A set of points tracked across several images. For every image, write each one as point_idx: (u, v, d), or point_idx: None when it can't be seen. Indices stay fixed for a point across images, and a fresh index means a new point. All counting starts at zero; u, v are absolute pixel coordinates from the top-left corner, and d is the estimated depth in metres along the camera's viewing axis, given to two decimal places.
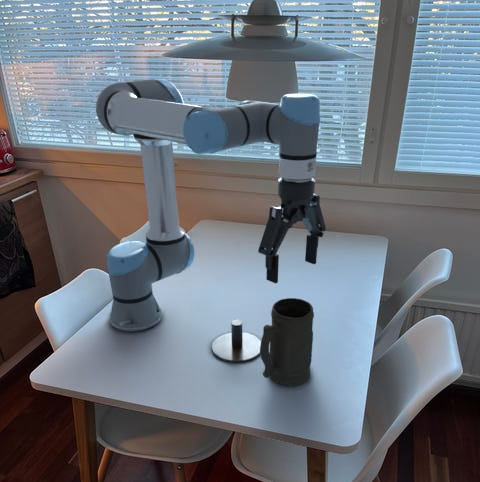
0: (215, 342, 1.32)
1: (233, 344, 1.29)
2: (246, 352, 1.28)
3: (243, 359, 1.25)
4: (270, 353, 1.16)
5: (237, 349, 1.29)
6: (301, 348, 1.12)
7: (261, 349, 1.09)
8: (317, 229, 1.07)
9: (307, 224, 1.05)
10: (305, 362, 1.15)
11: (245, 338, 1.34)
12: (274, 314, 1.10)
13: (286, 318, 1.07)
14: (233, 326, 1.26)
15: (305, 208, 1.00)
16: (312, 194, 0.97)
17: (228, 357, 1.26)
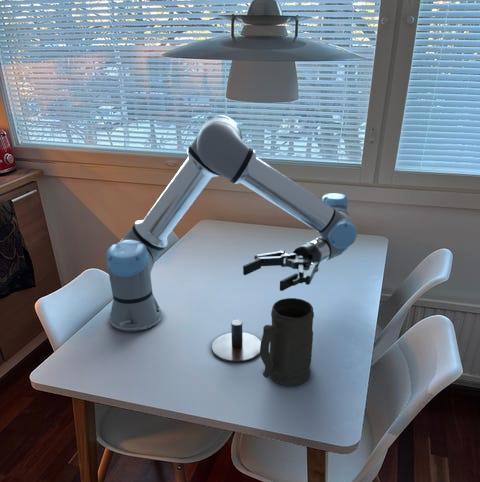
0: (215, 342, 1.32)
1: (233, 344, 1.29)
2: (246, 352, 1.28)
3: (243, 359, 1.25)
4: (270, 353, 1.16)
5: (237, 349, 1.29)
6: (301, 348, 1.12)
7: (261, 349, 1.09)
8: (302, 271, 1.28)
9: (298, 270, 1.31)
10: (305, 362, 1.15)
11: (245, 338, 1.34)
12: (274, 314, 1.10)
13: (286, 318, 1.07)
14: (233, 326, 1.26)
15: (300, 256, 1.35)
16: (307, 247, 1.36)
17: (228, 357, 1.26)
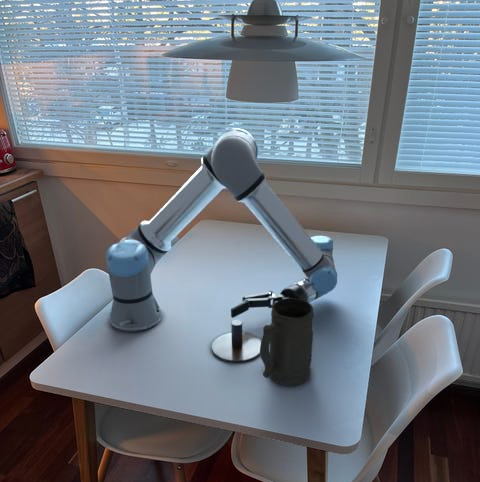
0: (215, 342, 1.32)
1: (233, 344, 1.29)
2: (246, 352, 1.28)
3: (243, 359, 1.25)
4: (270, 353, 1.16)
5: (237, 349, 1.29)
6: (301, 348, 1.12)
7: (261, 349, 1.09)
8: None
9: None
10: (305, 362, 1.15)
11: (245, 338, 1.34)
12: (274, 314, 1.10)
13: (286, 318, 1.07)
14: (233, 326, 1.26)
15: None
16: (294, 289, 1.39)
17: (228, 357, 1.26)
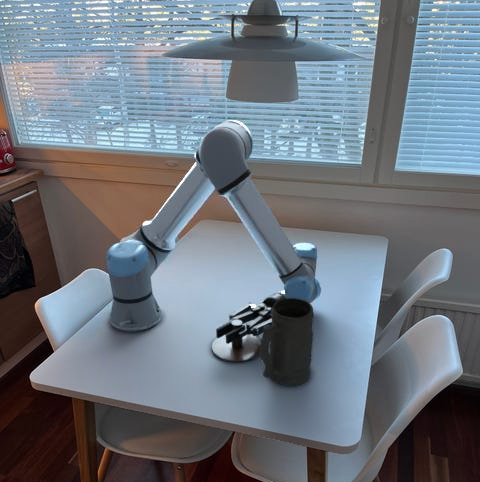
0: (215, 342, 1.32)
1: (233, 344, 1.29)
2: (246, 352, 1.28)
3: (243, 359, 1.25)
4: (270, 353, 1.16)
5: (237, 349, 1.29)
6: (301, 348, 1.12)
7: (261, 349, 1.09)
8: (252, 323, 1.27)
9: None
10: (305, 362, 1.15)
11: (245, 338, 1.34)
12: (274, 314, 1.10)
13: (286, 318, 1.07)
14: (233, 326, 1.26)
15: (269, 308, 1.33)
16: (276, 298, 1.34)
17: (228, 357, 1.26)
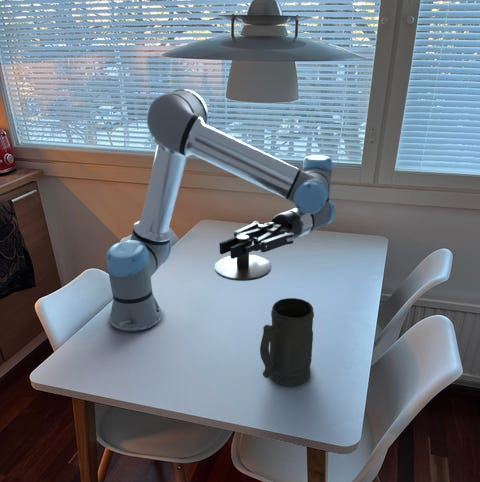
0: (218, 263, 1.17)
1: (238, 263, 1.14)
2: (253, 271, 1.13)
3: (250, 277, 1.10)
4: (270, 353, 1.16)
5: (243, 269, 1.14)
6: (301, 348, 1.12)
7: (261, 349, 1.09)
8: (260, 238, 1.12)
9: None
10: (305, 362, 1.15)
11: (252, 259, 1.19)
12: (274, 314, 1.10)
13: (286, 318, 1.07)
14: (239, 240, 1.11)
15: (279, 225, 1.18)
16: (287, 215, 1.19)
17: (233, 275, 1.11)
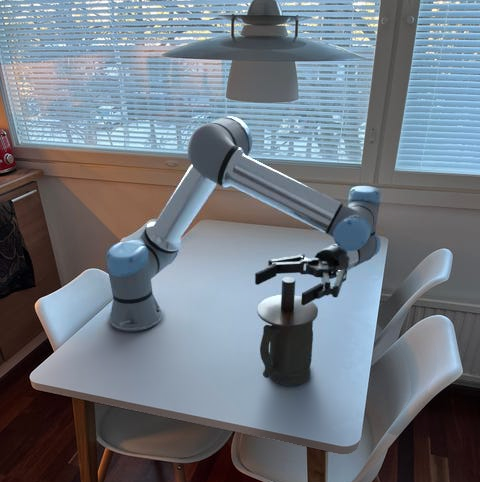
0: (260, 305, 1.10)
1: (283, 307, 1.07)
2: (299, 316, 1.06)
3: (297, 323, 1.04)
4: (270, 353, 1.16)
5: (288, 313, 1.07)
6: (301, 348, 1.12)
7: (261, 349, 1.09)
8: (328, 281, 1.04)
9: (323, 279, 1.07)
10: (305, 362, 1.15)
11: (295, 301, 1.12)
12: None
13: None
14: (285, 284, 1.04)
15: (324, 261, 1.11)
16: (333, 250, 1.12)
17: (279, 321, 1.04)
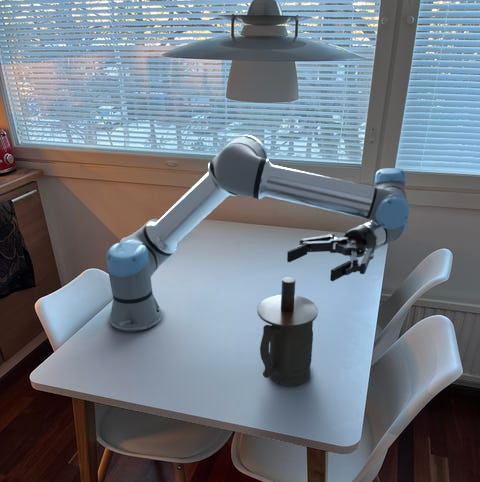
0: (260, 305, 1.10)
1: (283, 307, 1.07)
2: (299, 316, 1.06)
3: (297, 323, 1.04)
4: (270, 353, 1.16)
5: (288, 313, 1.07)
6: (301, 348, 1.12)
7: (261, 349, 1.09)
8: (355, 259, 1.11)
9: (351, 257, 1.14)
10: (305, 362, 1.15)
11: (295, 301, 1.12)
12: None
13: None
14: (285, 284, 1.04)
15: (352, 240, 1.18)
16: (361, 230, 1.19)
17: (279, 321, 1.04)
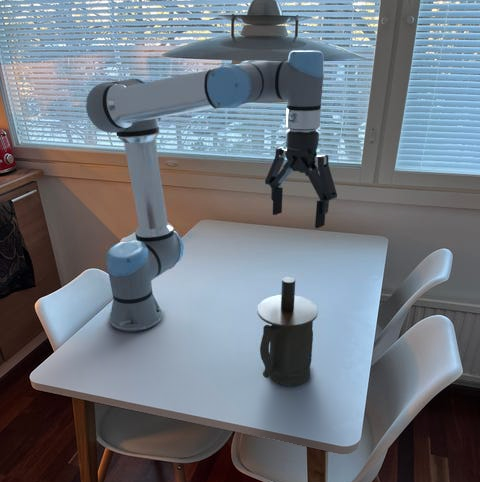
0: (260, 305, 1.10)
1: (283, 307, 1.07)
2: (299, 316, 1.06)
3: (297, 323, 1.04)
4: (270, 353, 1.16)
5: (288, 313, 1.07)
6: (301, 348, 1.12)
7: (261, 349, 1.09)
8: (319, 192, 1.08)
9: None
10: (305, 362, 1.15)
11: (295, 301, 1.12)
12: None
13: None
14: (285, 284, 1.04)
15: (299, 160, 1.08)
16: (294, 145, 1.05)
17: (279, 321, 1.04)
